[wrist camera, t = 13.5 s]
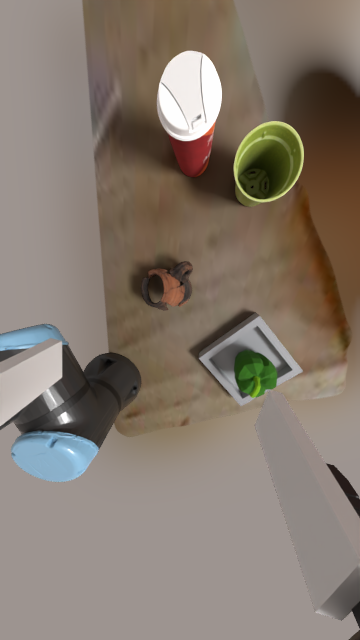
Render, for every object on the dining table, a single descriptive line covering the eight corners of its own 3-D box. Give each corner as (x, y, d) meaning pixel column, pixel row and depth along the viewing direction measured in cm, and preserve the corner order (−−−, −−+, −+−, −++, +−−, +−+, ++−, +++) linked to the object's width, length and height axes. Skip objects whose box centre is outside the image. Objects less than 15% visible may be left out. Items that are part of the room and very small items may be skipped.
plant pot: (279, 151, 32) (305, 111, 24) (279, 211, 35) (303, 194, 26) (224, 164, 33) (231, 131, 25) (228, 221, 36) (236, 207, 28)
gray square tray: (238, 397, 47) (240, 406, 44) (199, 352, 45) (198, 358, 42) (296, 364, 43) (303, 371, 40) (255, 312, 40) (259, 315, 37)
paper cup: (220, 171, 34) (232, 111, 21) (182, 191, 35) (169, 146, 22) (206, 123, 32) (208, 22, 19) (166, 146, 34) (142, 68, 20)
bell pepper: (251, 337, 41) (266, 358, 31) (273, 362, 42) (294, 391, 33) (221, 358, 43) (227, 384, 34) (243, 382, 44) (254, 413, 35)
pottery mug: (179, 316, 43) (155, 321, 37) (157, 288, 46) (131, 288, 40) (212, 276, 37) (189, 274, 30) (184, 247, 40) (158, 239, 33)
